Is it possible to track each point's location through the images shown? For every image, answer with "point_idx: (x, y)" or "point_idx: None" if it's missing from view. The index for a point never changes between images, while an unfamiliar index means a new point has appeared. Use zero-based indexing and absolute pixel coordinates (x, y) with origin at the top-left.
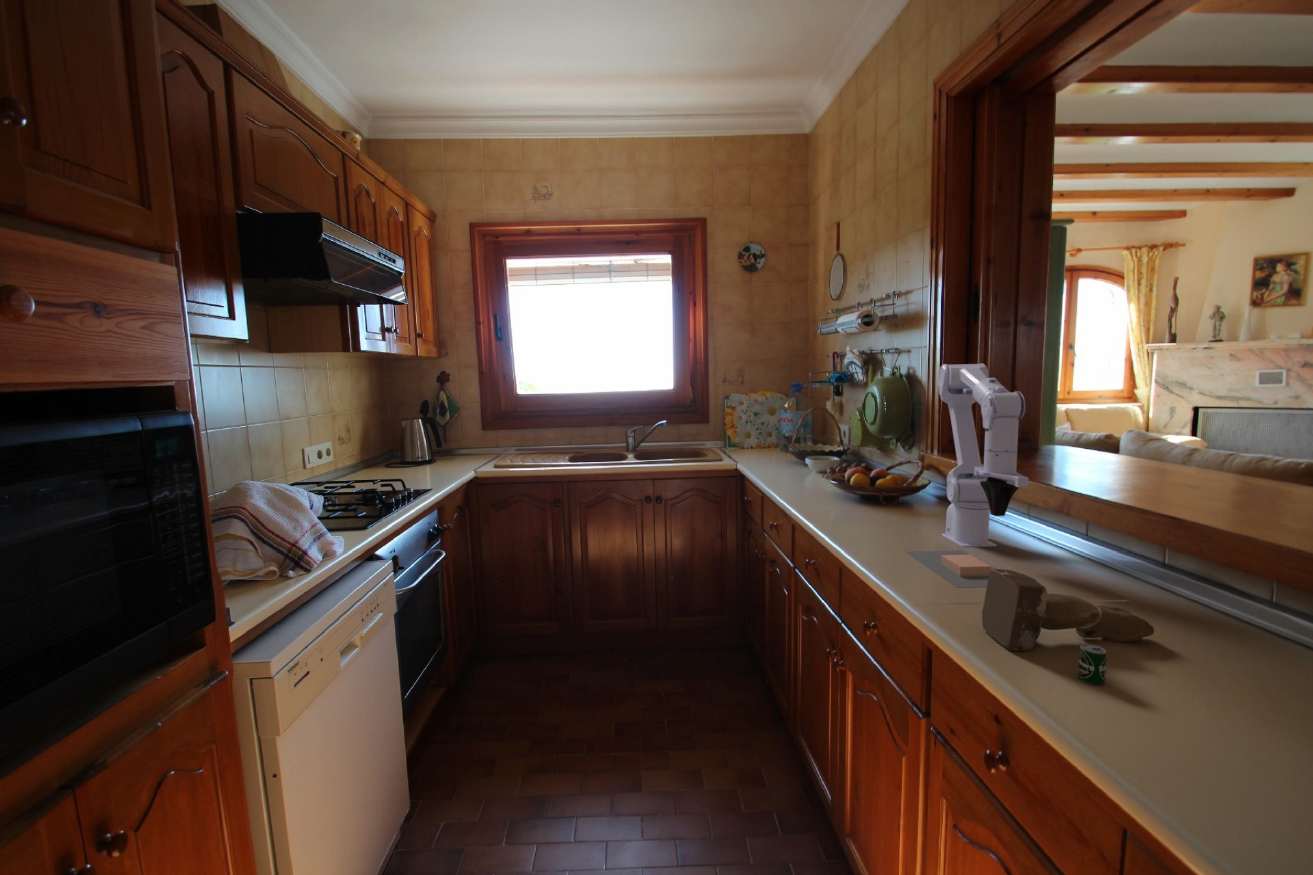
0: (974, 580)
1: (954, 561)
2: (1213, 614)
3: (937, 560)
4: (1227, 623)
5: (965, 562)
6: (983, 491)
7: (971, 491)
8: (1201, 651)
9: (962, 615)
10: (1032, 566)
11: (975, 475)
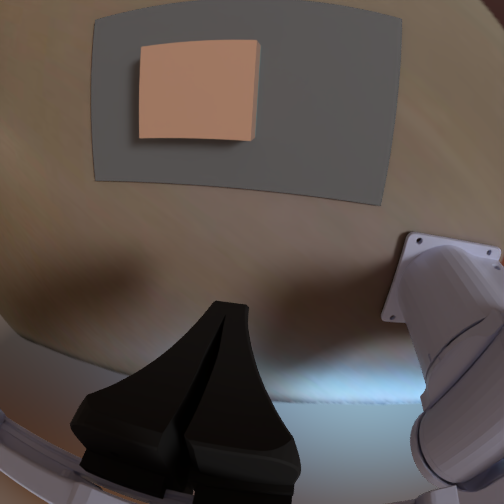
0: (128, 76)
1: (188, 50)
2: (58, 344)
3: (301, 57)
4: (40, 332)
5: (175, 80)
6: (449, 427)
7: (482, 396)
8: None
9: (18, 6)
10: (229, 292)
11: (440, 489)
